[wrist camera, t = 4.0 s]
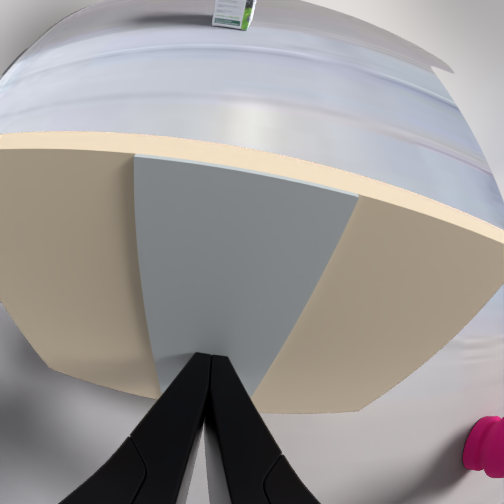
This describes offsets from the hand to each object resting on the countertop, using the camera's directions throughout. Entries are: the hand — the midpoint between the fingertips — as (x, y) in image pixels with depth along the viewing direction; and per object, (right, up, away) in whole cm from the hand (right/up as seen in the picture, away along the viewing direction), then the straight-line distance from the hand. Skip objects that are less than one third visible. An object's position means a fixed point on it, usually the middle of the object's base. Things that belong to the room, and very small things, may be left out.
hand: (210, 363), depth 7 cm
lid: (0, +1, 0) cm, 1 cm away
